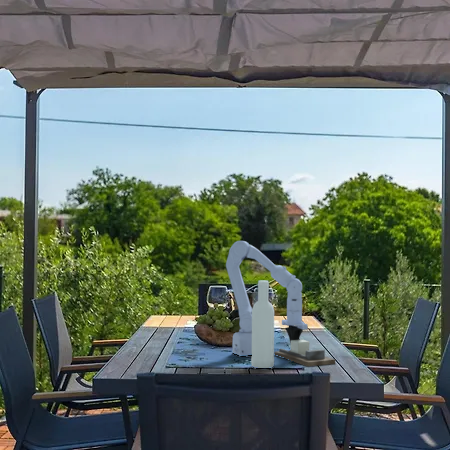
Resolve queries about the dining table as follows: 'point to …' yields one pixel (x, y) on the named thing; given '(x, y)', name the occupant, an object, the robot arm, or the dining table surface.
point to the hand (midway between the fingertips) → (294, 346)
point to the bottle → (263, 329)
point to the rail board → (306, 362)
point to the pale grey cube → (299, 346)
